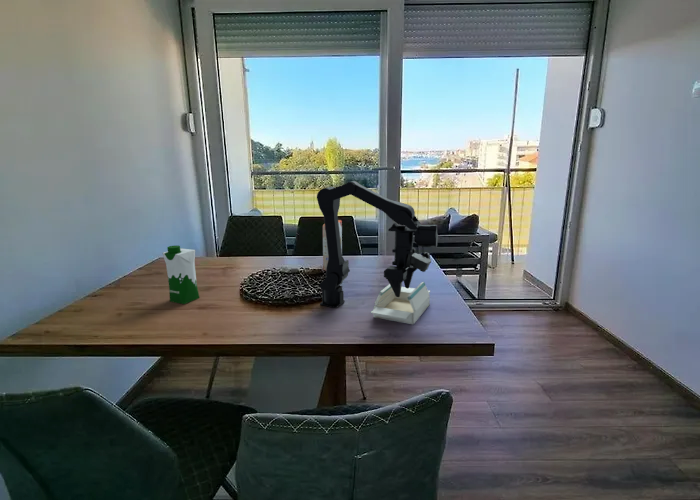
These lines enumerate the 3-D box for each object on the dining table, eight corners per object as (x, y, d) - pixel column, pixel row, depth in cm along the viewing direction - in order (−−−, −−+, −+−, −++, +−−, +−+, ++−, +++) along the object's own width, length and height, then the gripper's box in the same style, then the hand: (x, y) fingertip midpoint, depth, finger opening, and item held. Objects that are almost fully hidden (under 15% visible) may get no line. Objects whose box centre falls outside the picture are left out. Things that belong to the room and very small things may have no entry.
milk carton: (165, 302, 139) (158, 247, 134) (186, 294, 147) (179, 241, 142) (184, 305, 135) (177, 249, 131) (203, 297, 143) (198, 243, 139)
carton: (367, 322, 120) (367, 311, 119) (397, 295, 143) (397, 286, 142) (408, 330, 114) (408, 318, 113) (432, 300, 137) (433, 291, 136)
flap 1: (374, 303, 124) (380, 291, 122) (391, 289, 137) (397, 277, 135) (376, 305, 124) (382, 292, 122) (393, 290, 137) (399, 279, 135)
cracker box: (336, 271, 172) (335, 224, 168) (322, 271, 174) (321, 224, 169) (343, 263, 186) (342, 219, 181) (330, 263, 187) (329, 219, 182)
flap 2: (413, 311, 118) (407, 296, 118) (427, 295, 131) (421, 282, 131) (416, 310, 118) (409, 295, 118) (429, 295, 131) (424, 281, 131)
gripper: (419, 254, 112) (418, 306, 115) (436, 241, 128) (434, 287, 131) (383, 250, 116) (382, 300, 120) (404, 238, 133) (403, 282, 136)
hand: (402, 292), depth 127 cm, fingers open, 9 cm apart
